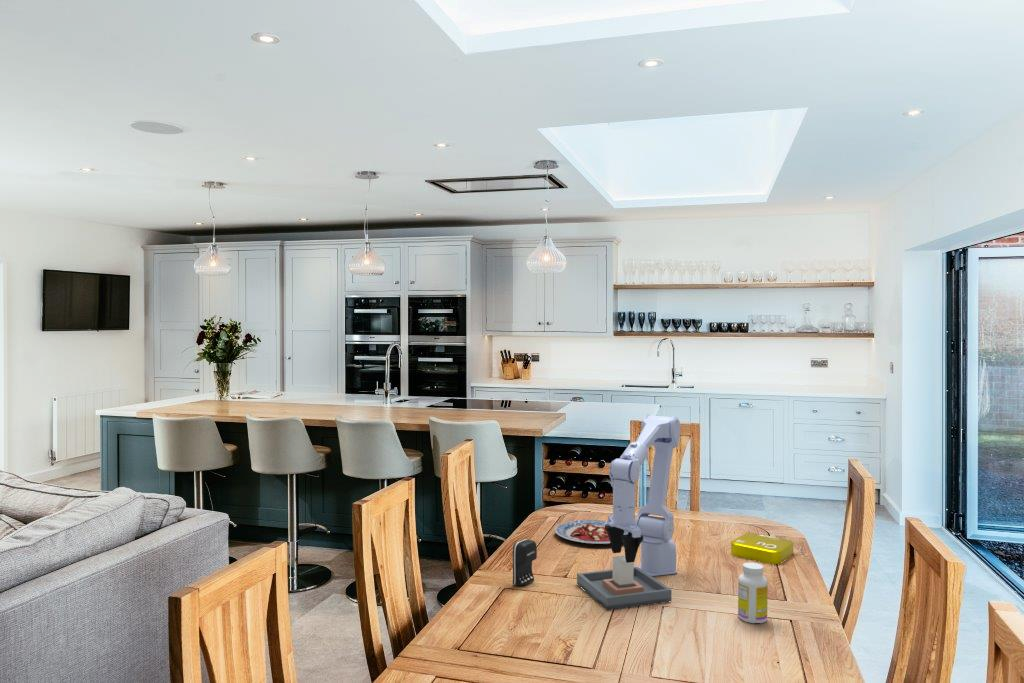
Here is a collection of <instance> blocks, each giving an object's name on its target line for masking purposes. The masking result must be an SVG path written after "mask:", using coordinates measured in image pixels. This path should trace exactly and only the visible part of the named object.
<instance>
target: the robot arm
mask: <svg viewBox="0 0 1024 683" xmlns="http://www.w3.org/2000/svg"><path fill="white" fill-rule="evenodd" d="M640 425H641V428H640V429H641V432H640V434H639V435H638V438H637V439H636V440H635V441H631V442H630V443H629V445H628V446H627V447H626V448H625V450H624V451H623V453H622V454H621V455H620V457H619V458H615V459H613V460H611V462H610V465H609V470H608V475H609V479H610V486H611V487H612V514H608V515H607V521H608V523H609V525H605V529H606V531H607V533H608V536H609V539H610V543H611V544H610V548H611V552H612V553H613V554H619V553H621V552H622V548H624V556H625V559H626V562H627V563H629V562H634V563H635V561H636V558H637V557H636V556H637V553H638V550H639V548H640V565H635V566H634V567H638V568H640V569H641V570H643V571H644V572H646V573H647V574H649V575H650V576H652V577H657V576H666V575H673V574H674V575H675V574H678V571H677V546H676V543H675V542H674V540H673V539H672V538H673V536H674V531H675V525H674V523H675V522H674V520H675V518H674V514H673V513H672V512H671V510H670V509H668V508H667V506H666V504H667V503H666V501H667V495H668V489H669V480H670V473H671V466H672V458H673V453H674V452H673V451H674V449H675V448H677V447H679V444H680V437H681V429H682V428H681V423H680V420H679V418H678V416H666V415H665V416H664V415H653V414H645V415H644V416H643V418H642V420H641V424H640ZM651 446H653V448H654V456H653V463H652V473H651V478H650V484H649V490H648V491H649V493H648V500H647V503H646V504H645V505H643V506H642V507H640V508H639V509H638V510H637V511H638V512H637V516H636V482H638V480H639V477H640V474H641V473H640V472H642V467H641V466H642V465H643V463H644V462H645V461H646V459H647V458H648V456H649V451H648V449H650V447H651ZM625 531H626V532H628V535H624V532H625ZM622 546H623V547H622Z"/></svg>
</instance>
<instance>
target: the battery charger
mask: <svg viewBox="0 0 1024 683" xmlns="http://www.w3.org/2000/svg"><path fill="white" fill-rule="evenodd" d="M537 556H538V551H537V543H536V541H534V540H532V539H528V538H523V539H521V540H519V541H517V542H515V543H514V544H513V546H512V585H514V586H517V585H518V587H525V586H527V585H529V584H531V583H533V582H534V581H535V577H534V573H533V567H532V566H533V561H536V560H537V559H538V558H537ZM532 581H533V582H532ZM530 582H531V583H530ZM528 583H529V584H528ZM526 584H527V585H526ZM524 585H525V586H524Z"/></svg>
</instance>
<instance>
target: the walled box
mask: <svg viewBox="0 0 1024 683" xmlns="http://www.w3.org/2000/svg"><path fill="white" fill-rule="evenodd" d="M576 575H577V576H576V585H577V584H578V585H579V586H580V587H582V588H583V589H584V590H585V591H586V592H587V593H588V594H587V593H586V592H585V591H584V590H583V589H582V588H581V589H582V590H583V591H584V592H585V593H586V594H587V595H589V596H590V598H592V597H593V598H594V599H595V601H596V602H597V603H598V604H599V605H600V604H601V605H602V606H601V605H600V606H601V607H602V608H604V609H605V608H606V609H607V610H606V609H605V610H606V611H612V610H611V609H613V610H618V609H619V610H620V609H625V608H626V609H627V607H628V608H634V607H633V606H635V607H641V605H643V606H649V605H648V604H650V605H655V604H654V603H658V604H662V603H661V602H665V603H670V602H669V601H671V602H672V589H671V588H670V587H668V586H667V585H665V584H663V583H662V582H661V581H659V580H657V579H656V578H654V576H650V575H649V574H647V573H646V572H644V571H643V570H641V569H640V568H638V567H635V566H634V575H633V587H625V588H617V587H616V586H615V585H613V584H612V576H613V568H612V569H606V570H596V571H588V572H578V573H576ZM578 585H577V586H578ZM579 586H578V587H579ZM580 587H579V588H580ZM593 598H592V599H593ZM594 599H593V600H594Z"/></svg>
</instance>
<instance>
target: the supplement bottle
mask: <svg viewBox="0 0 1024 683" xmlns="http://www.w3.org/2000/svg"><path fill="white" fill-rule="evenodd" d="M742 571H743V573H741V574H740V575H739V576H738V580H737V584H738V585H737V586H738V587H737V588H738V591H737V615H738V617H739V619H740V620H741V621H743V622H745V623H748V622H749V624H754V623H760V624H763V623H765V622H767V620H768V594H769V593H768V589H769V588H768V586H769V585H768V584H769V583H768V579H767V578H766V576H764V574H763V573H764V565H763V564H760V563H757V562H745V563H743V564H742Z"/></svg>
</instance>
